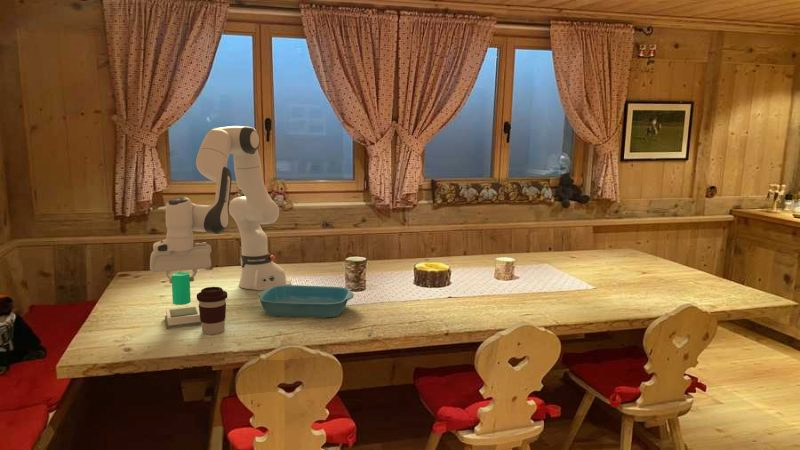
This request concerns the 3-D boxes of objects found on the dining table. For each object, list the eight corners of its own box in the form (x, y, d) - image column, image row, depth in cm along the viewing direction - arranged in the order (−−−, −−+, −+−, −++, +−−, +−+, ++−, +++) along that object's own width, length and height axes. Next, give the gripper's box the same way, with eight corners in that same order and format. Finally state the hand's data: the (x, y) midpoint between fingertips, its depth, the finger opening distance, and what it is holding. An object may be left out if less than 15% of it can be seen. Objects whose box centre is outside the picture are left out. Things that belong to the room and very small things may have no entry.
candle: (183, 305, 198) (182, 272, 196) (169, 303, 200) (167, 271, 198) (194, 300, 204) (192, 268, 202) (179, 299, 206) (178, 267, 204)
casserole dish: (249, 318, 209) (249, 299, 208) (267, 299, 231) (267, 283, 230) (348, 322, 207) (348, 304, 205) (357, 303, 228) (357, 286, 227)
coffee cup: (202, 326, 199) (200, 285, 196) (231, 326, 200) (229, 285, 197) (194, 336, 189) (192, 293, 187) (225, 336, 190) (223, 293, 188)
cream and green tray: (208, 313, 212) (207, 304, 212) (212, 322, 202) (211, 313, 202) (165, 318, 206) (164, 309, 205) (167, 328, 196) (166, 318, 195)
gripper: (209, 240, 206) (211, 277, 208) (148, 244, 197) (150, 282, 199) (212, 243, 200) (213, 281, 203) (149, 247, 191) (151, 287, 194)
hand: (181, 282), depth 201 cm, fingers closed on candle, 5 cm apart
